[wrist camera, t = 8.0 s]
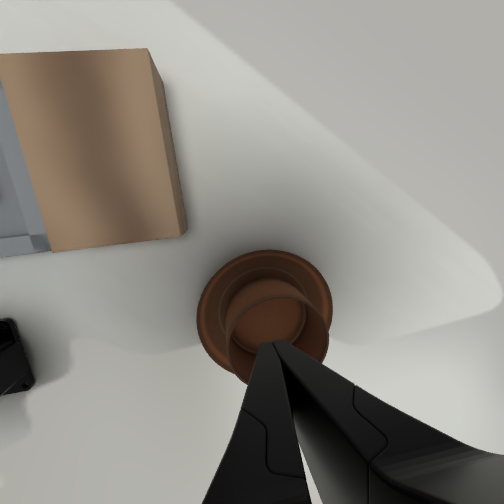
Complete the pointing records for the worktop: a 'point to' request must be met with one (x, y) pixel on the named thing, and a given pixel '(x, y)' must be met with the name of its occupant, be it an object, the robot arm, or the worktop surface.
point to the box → (17, 194)
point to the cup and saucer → (264, 309)
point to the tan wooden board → (96, 145)
